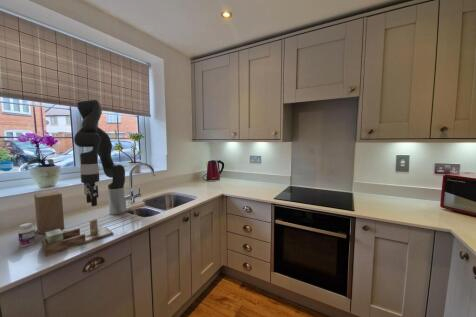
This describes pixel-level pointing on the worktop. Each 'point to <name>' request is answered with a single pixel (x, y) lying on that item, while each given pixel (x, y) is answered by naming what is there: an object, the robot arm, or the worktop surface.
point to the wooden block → (49, 211)
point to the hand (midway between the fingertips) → (91, 204)
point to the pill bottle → (26, 235)
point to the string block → (58, 235)
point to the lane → (73, 240)
